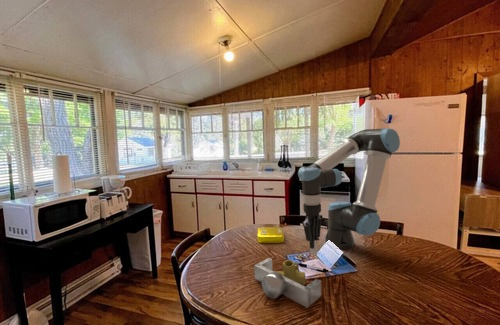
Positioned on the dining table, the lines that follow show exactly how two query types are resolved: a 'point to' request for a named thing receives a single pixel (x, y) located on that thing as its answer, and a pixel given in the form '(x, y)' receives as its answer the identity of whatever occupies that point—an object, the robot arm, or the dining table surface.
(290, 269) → the brass pipe tee
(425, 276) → the dining table surface
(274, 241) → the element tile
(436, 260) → the dining table surface
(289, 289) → the grey bracket with knob
